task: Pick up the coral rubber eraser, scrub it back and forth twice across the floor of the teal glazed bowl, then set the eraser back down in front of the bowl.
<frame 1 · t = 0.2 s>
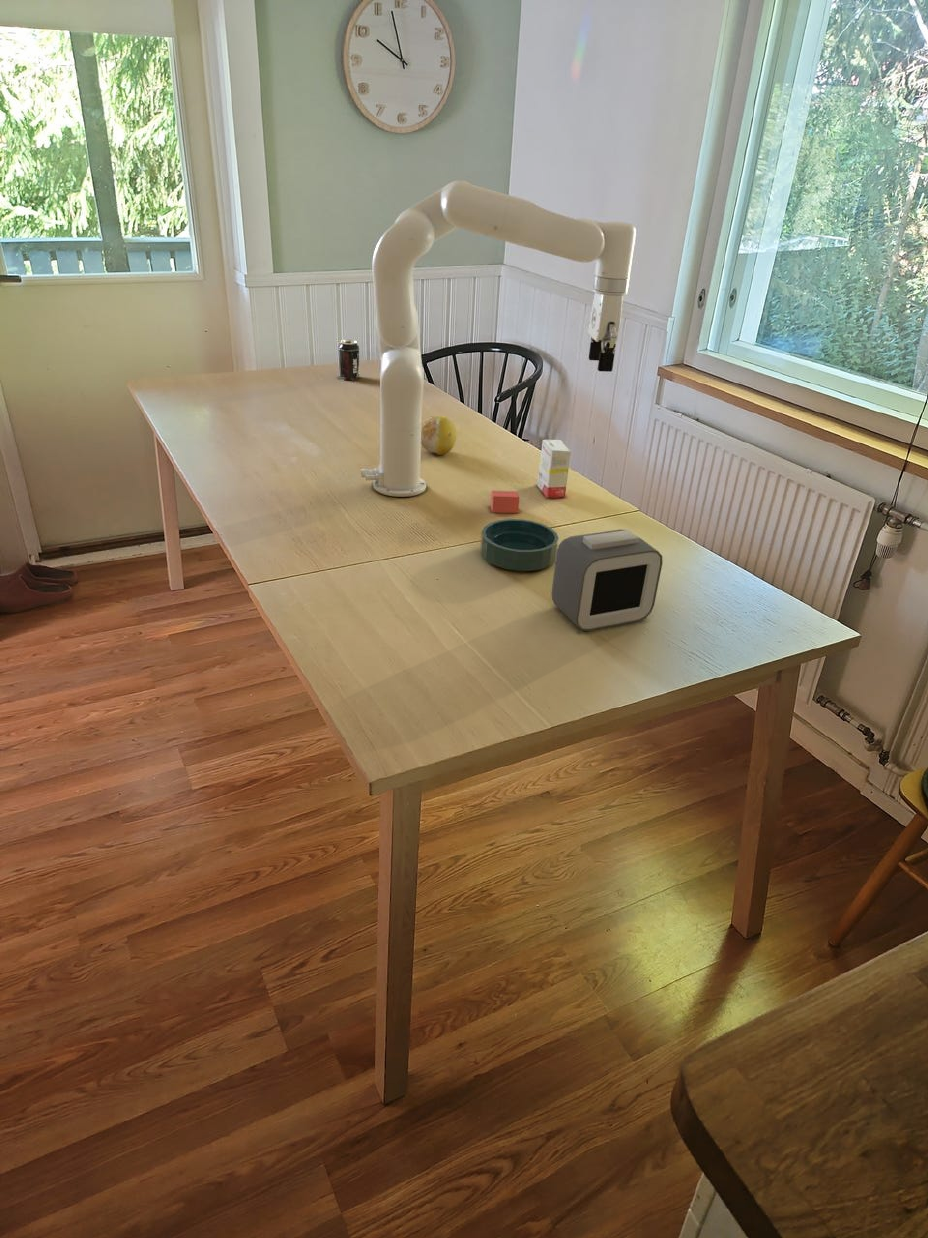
hand: (599, 365, 190), 31 cm above the table, tool pointing down, fingers open, 9 cm apart
eraser: (504, 509, 194), on the table
beverage can: (349, 378, 282), on the table
alarm clock: (597, 612, 156), on the table
fruit: (436, 453, 224), on the table
ink box: (551, 492, 205), on the table
bowl: (517, 556, 173), on the table
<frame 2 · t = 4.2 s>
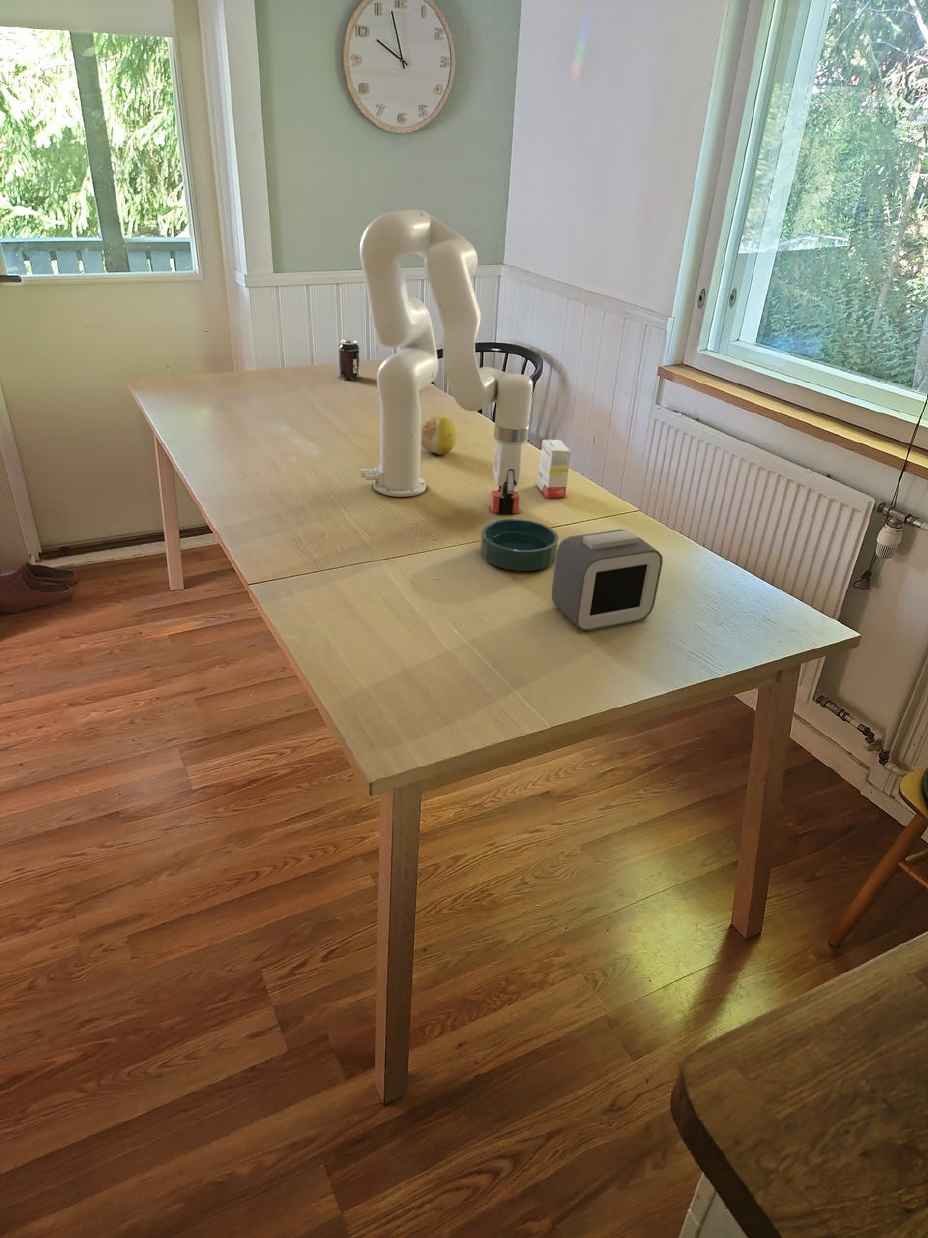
hand: (504, 509, 194), 0 cm above the table, tool pointing down, fingers closed on eraser, 3 cm apart
eraser: (504, 509, 194), on the table, touching gripper
everything else where it was.
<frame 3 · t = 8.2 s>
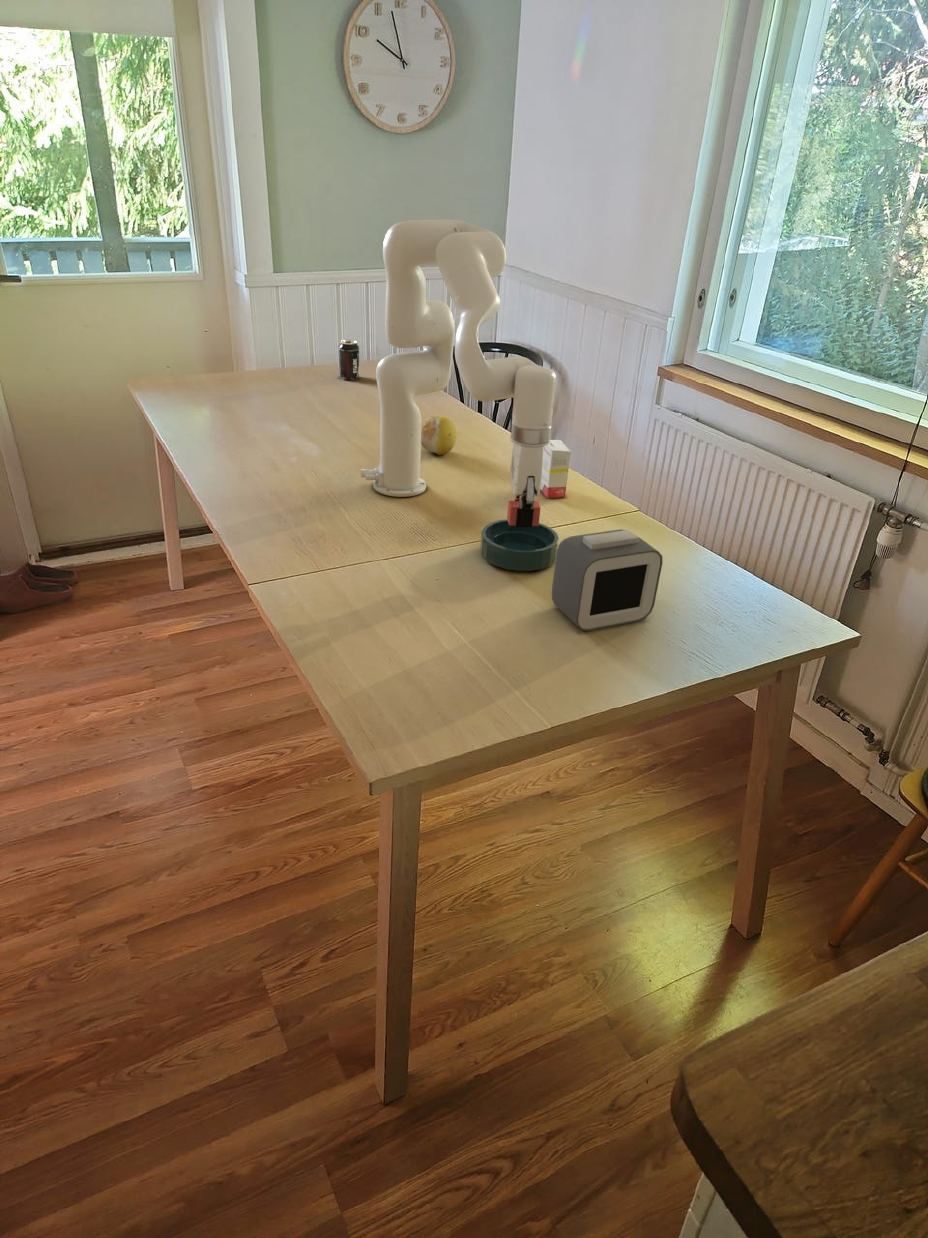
hand: (522, 521, 169), 8 cm above the table, tool pointing down, fingers closed on eraser, 3 cm apart
eraser: (522, 522, 169), point 8 cm above the table, touching gripper
everything else where it was.
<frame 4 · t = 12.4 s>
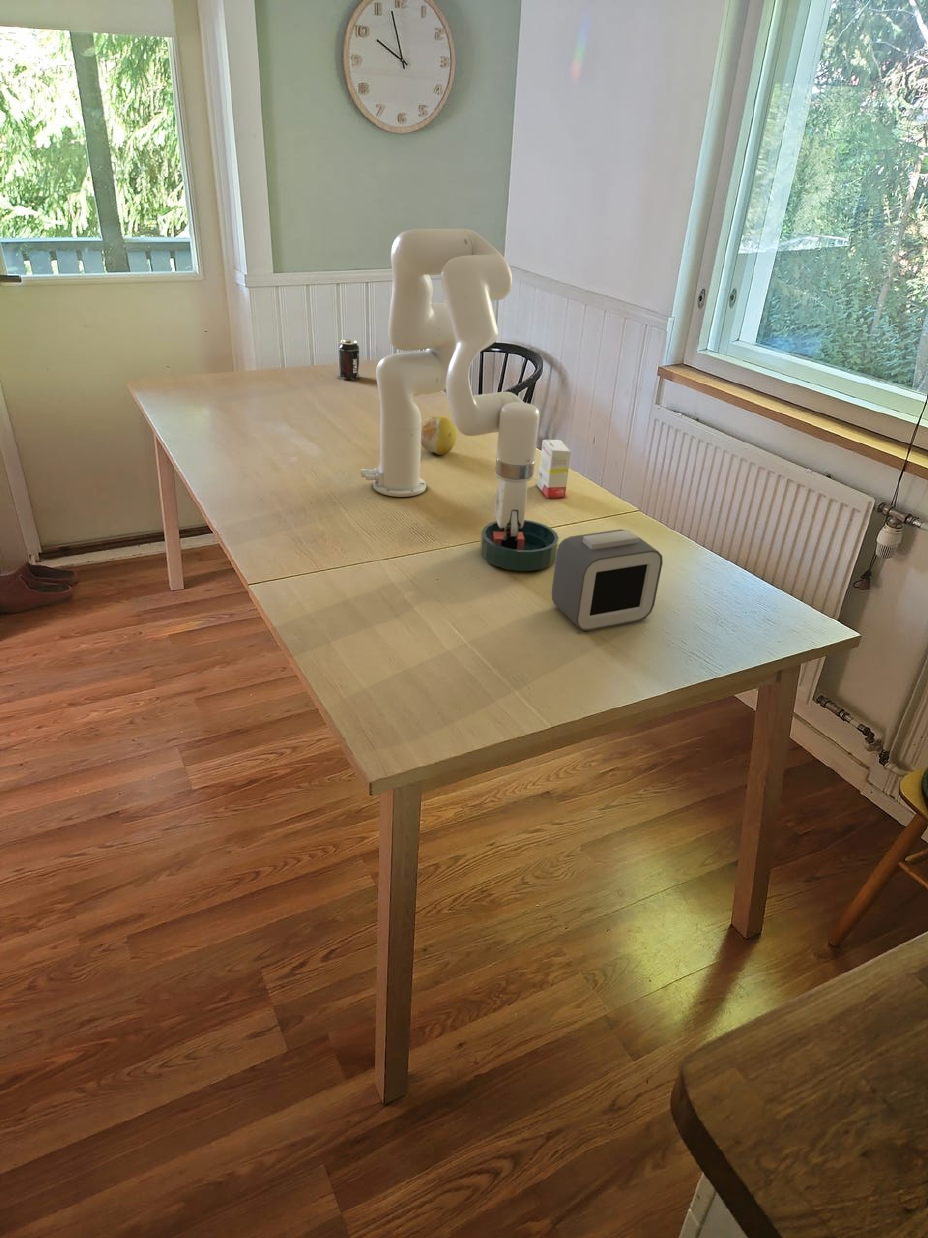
hand: (506, 551, 173), 1 cm above the table, tool pointing down, fingers closed on eraser, 3 cm apart
eraser: (507, 552, 173), point 1 cm above the table, touching gripper
everything else where it was.
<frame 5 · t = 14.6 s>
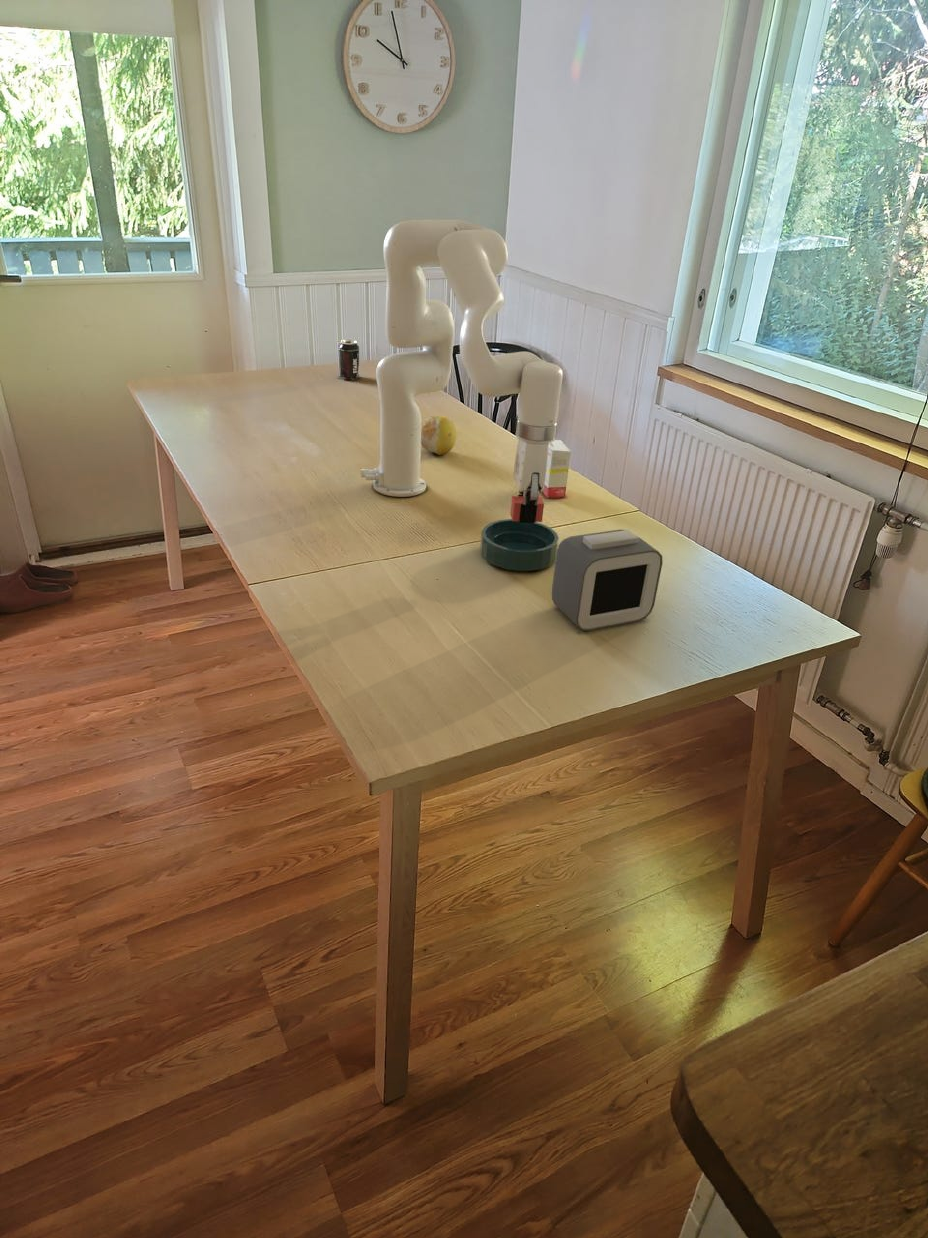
hand: (525, 516, 169), 9 cm above the table, tool pointing down, fingers closed on eraser, 3 cm apart
eraser: (525, 518, 169), point 9 cm above the table, touching gripper
everything else where it was.
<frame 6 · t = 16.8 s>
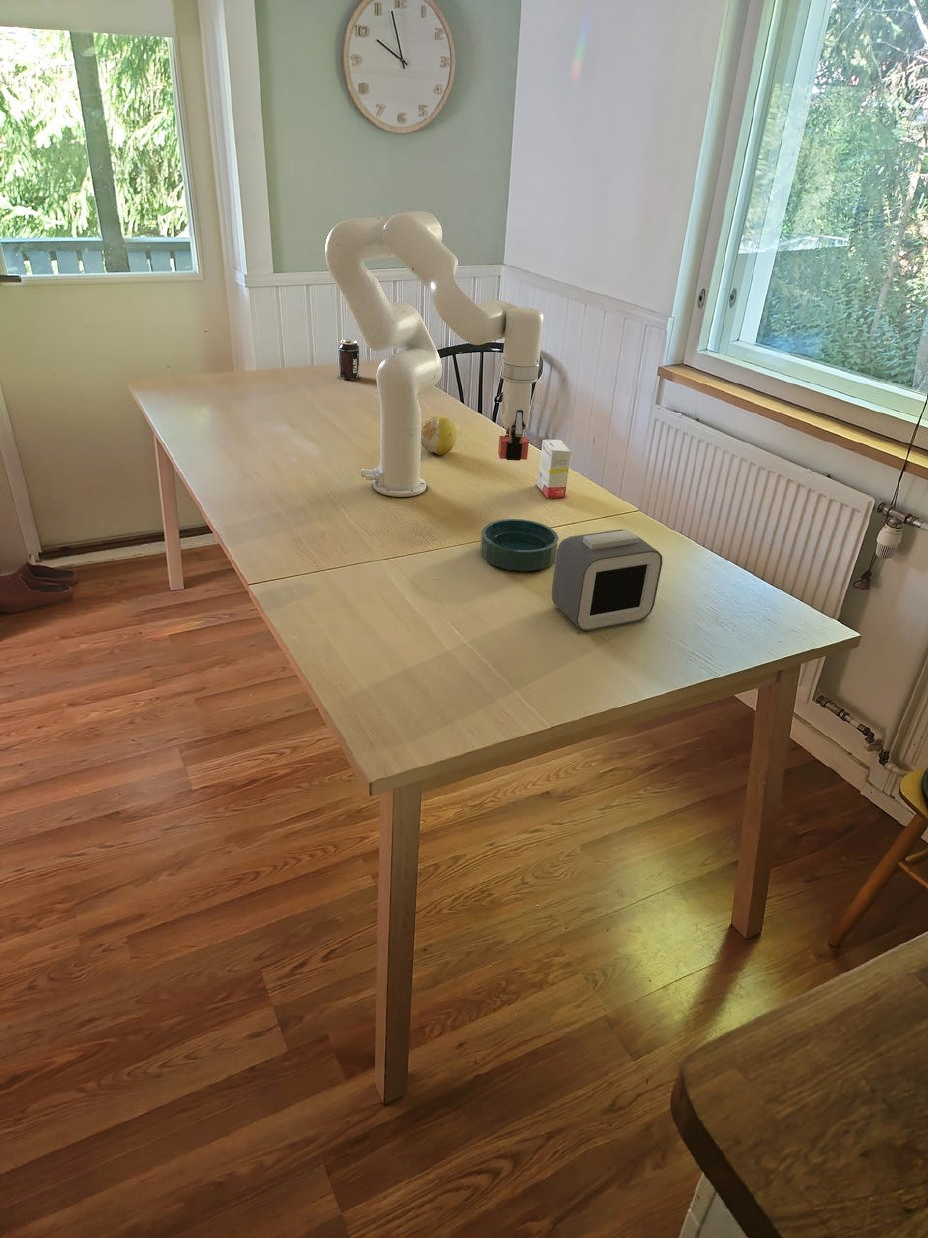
hand: (512, 455, 182), 15 cm above the table, tool pointing down, fingers closed on eraser, 3 cm apart
eraser: (512, 456, 182), point 15 cm above the table, touching gripper
everything else where it was.
when the fingers open (0 cm above the table, at t = 20.6 s): eraser stays where it is, on the table.
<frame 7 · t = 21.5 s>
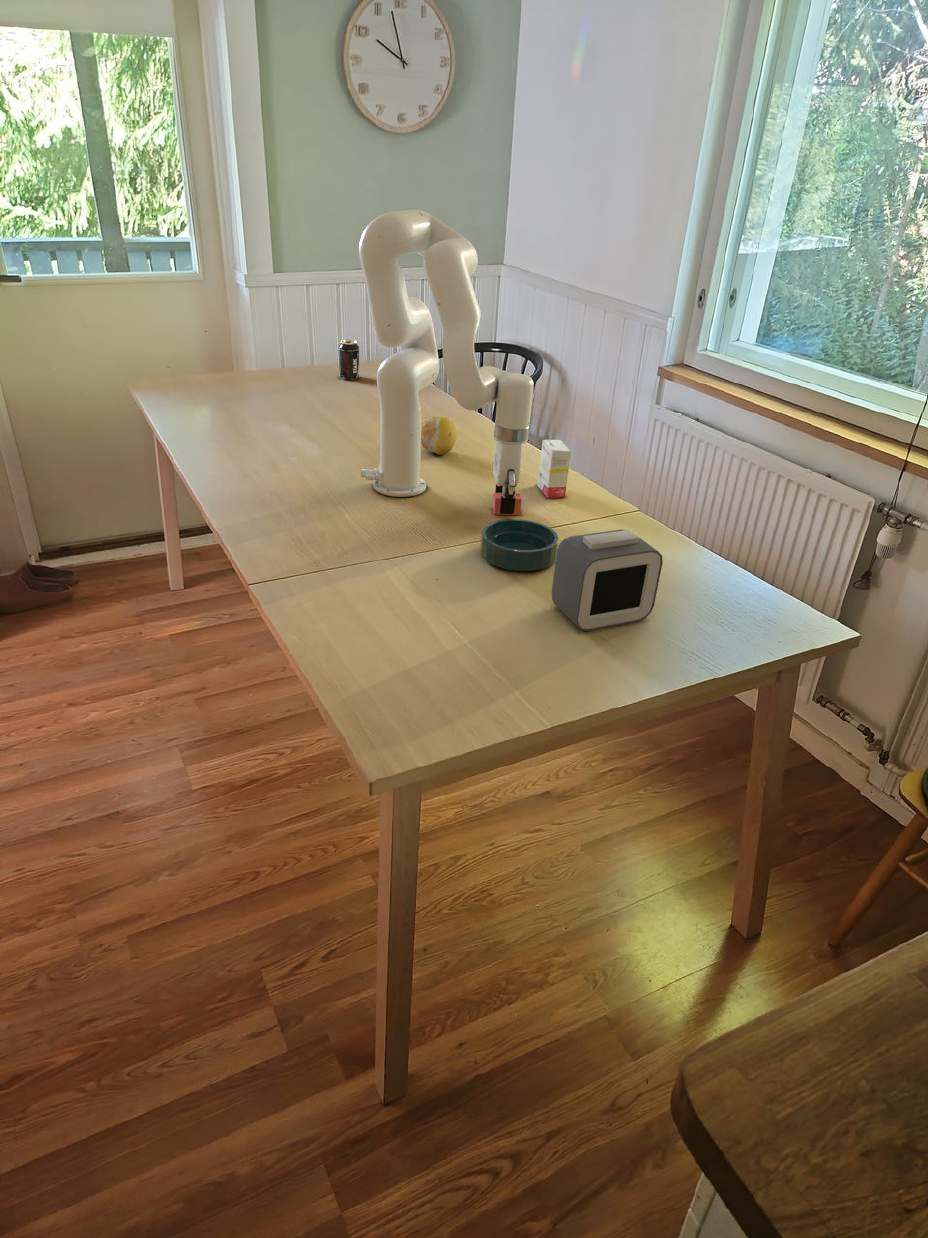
hand: (504, 504, 192), 2 cm above the table, tool pointing down, fingers open, 9 cm apart
eraser: (506, 511, 193), on the table
everything else where it was.
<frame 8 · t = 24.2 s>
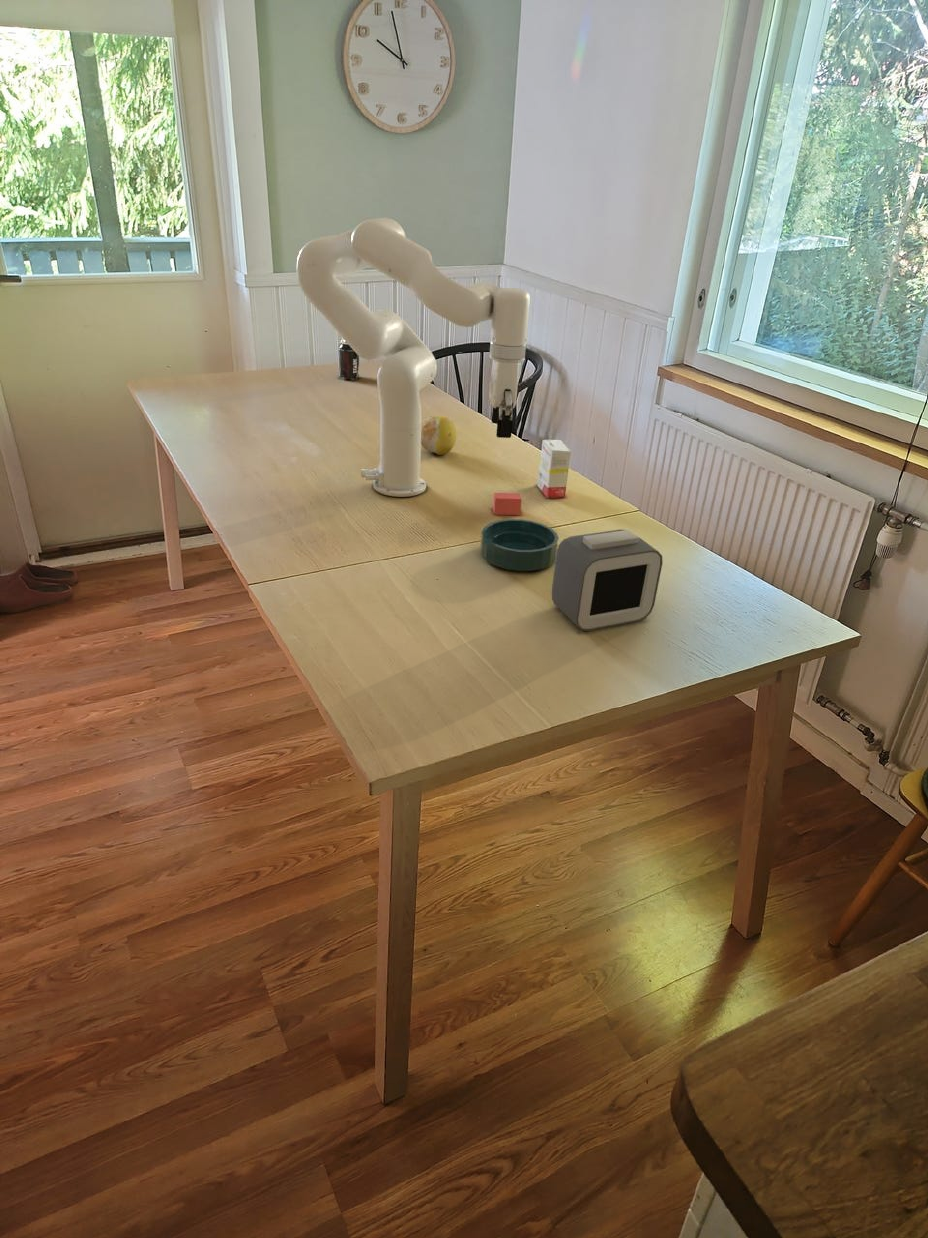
hand: (501, 429, 186), 18 cm above the table, tool pointing down, fingers open, 9 cm apart
nothing on the table moved.
at the end: eraser inside the target area on the table beside the bowl (0.3 cm from its centre), on the table; eraser tilted 0°; the gripper is holding nothing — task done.
